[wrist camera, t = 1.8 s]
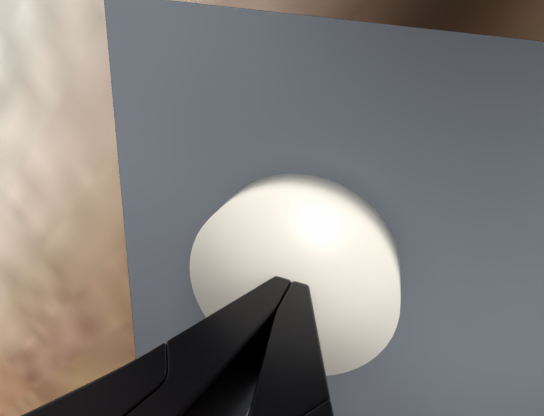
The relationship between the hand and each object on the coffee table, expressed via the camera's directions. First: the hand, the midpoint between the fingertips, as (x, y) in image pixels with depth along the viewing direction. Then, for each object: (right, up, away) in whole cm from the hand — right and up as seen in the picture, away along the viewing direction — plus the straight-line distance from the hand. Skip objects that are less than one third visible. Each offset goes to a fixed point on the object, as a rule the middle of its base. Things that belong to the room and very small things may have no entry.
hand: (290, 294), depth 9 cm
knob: (+1, +2, +4) cm, 4 cm away
